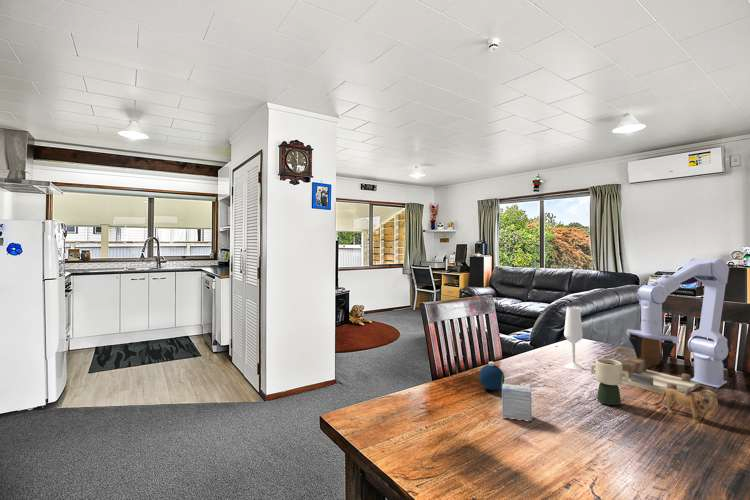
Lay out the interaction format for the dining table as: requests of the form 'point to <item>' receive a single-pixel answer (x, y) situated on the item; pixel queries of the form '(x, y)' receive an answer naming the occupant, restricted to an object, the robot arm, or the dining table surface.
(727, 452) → the dining table surface
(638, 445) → the dining table surface
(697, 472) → the dining table surface
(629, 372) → the wooden board
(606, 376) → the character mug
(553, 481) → the dining table surface
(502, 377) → the christmas ornament
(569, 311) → the champagne flute
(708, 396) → the lion figurine
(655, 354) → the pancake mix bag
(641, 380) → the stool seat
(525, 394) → the medicine box
